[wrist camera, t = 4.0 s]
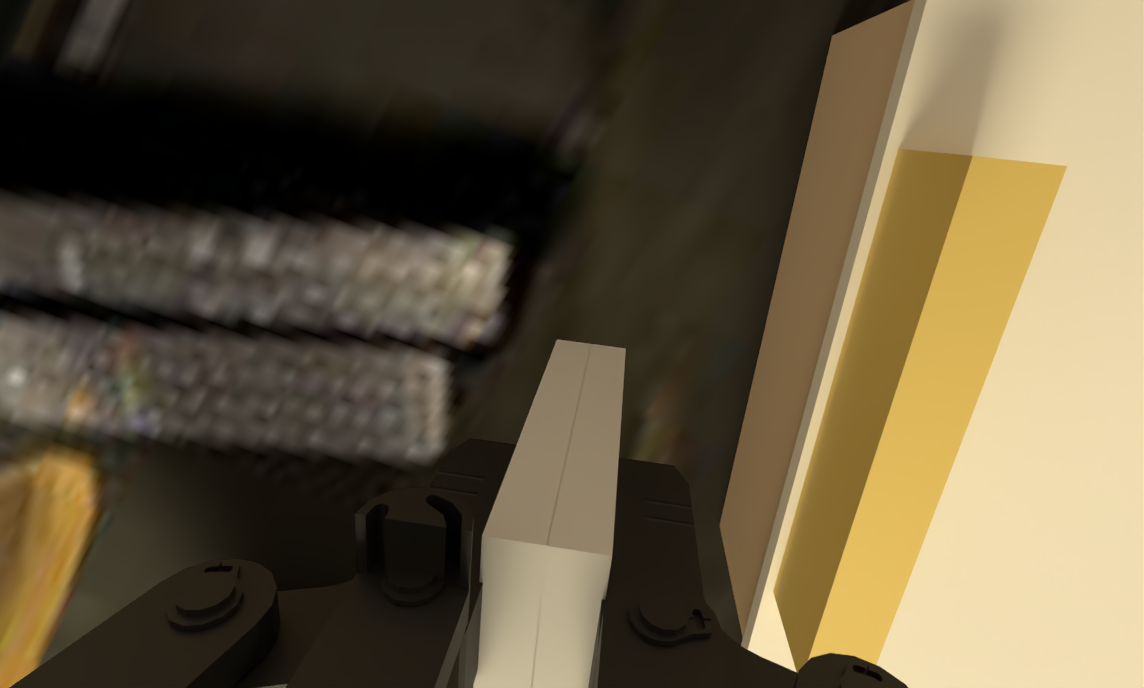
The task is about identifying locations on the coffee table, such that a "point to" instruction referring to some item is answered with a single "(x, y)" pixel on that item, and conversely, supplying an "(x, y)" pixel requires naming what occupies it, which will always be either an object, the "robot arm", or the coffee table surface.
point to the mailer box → (807, 283)
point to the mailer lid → (982, 370)
